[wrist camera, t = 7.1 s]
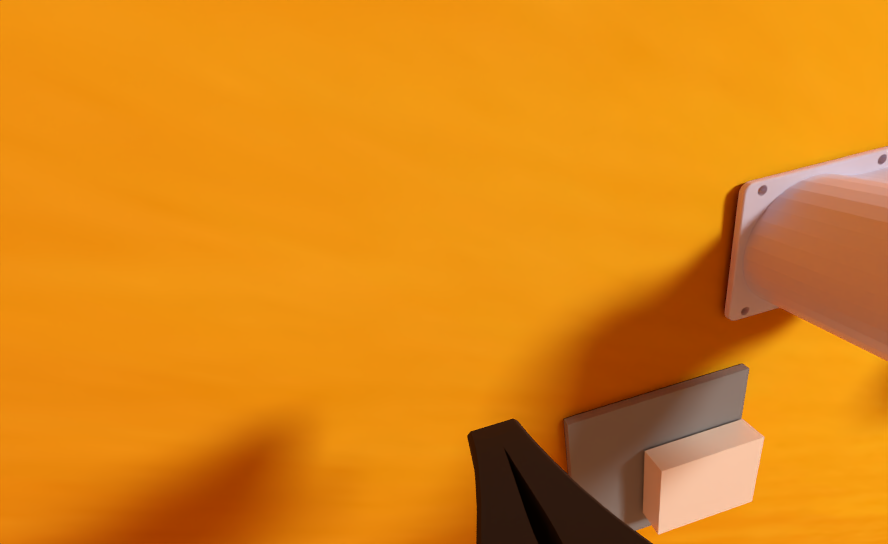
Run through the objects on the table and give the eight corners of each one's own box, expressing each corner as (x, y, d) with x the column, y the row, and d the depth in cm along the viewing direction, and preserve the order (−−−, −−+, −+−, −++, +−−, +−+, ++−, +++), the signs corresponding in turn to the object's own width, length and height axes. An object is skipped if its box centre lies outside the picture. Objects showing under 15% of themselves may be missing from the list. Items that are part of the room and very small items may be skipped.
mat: (742, 363, 26) (749, 368, 26) (723, 492, 31) (728, 498, 31) (563, 418, 25) (567, 424, 24) (573, 544, 30) (577, 550, 29)
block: (642, 449, 27) (740, 417, 27) (641, 510, 29) (730, 479, 30) (661, 471, 25) (764, 436, 26) (658, 534, 28) (751, 501, 28)
